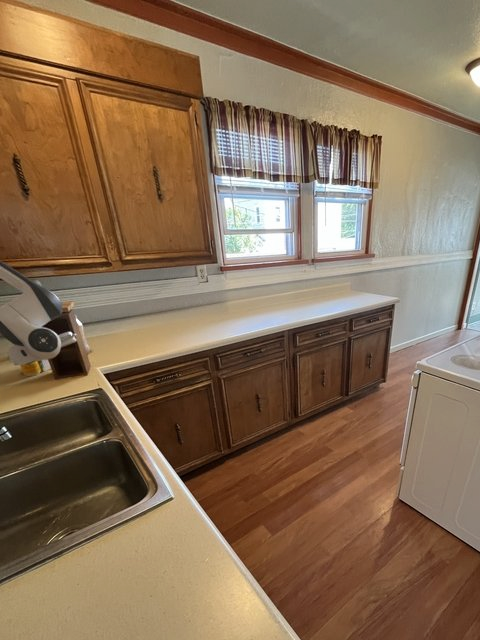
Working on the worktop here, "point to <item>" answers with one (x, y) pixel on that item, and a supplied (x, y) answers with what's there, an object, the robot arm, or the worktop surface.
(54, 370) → the nightstand
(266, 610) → the worktop surface
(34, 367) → the beer can
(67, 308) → the shelf
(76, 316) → the plastic bottle
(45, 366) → the syrup box
